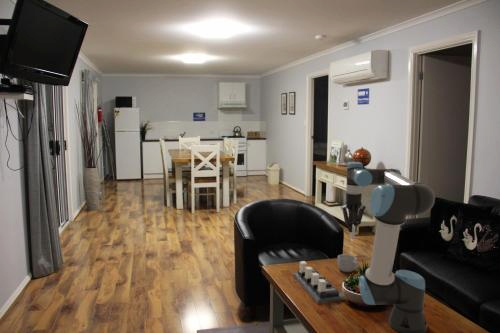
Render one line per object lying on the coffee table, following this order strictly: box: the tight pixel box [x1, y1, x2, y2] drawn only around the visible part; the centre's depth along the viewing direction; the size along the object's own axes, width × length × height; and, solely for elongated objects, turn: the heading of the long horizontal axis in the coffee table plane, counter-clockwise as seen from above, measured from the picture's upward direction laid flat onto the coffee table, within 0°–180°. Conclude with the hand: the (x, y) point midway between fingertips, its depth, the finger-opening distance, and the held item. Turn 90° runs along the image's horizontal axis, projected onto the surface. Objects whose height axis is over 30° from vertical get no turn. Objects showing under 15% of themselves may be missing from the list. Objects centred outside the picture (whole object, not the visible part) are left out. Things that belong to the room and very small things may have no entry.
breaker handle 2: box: [305, 266, 314, 279], centre depth 209 cm, size 3×3×5 cm
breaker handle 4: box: [318, 279, 326, 292], centre depth 194 cm, size 3×3×5 cm
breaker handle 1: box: [299, 260, 308, 273], centre depth 217 cm, size 3×3×5 cm
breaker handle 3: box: [311, 273, 319, 285], centre depth 201 cm, size 3×3×5 cm
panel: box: [293, 268, 345, 304], centre depth 207 cm, size 32×14×4 cm, turn 15°
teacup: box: [337, 253, 359, 273], centre depth 227 cm, size 14×11×8 cm
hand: (352, 238), depth 204 cm, fingers closed
